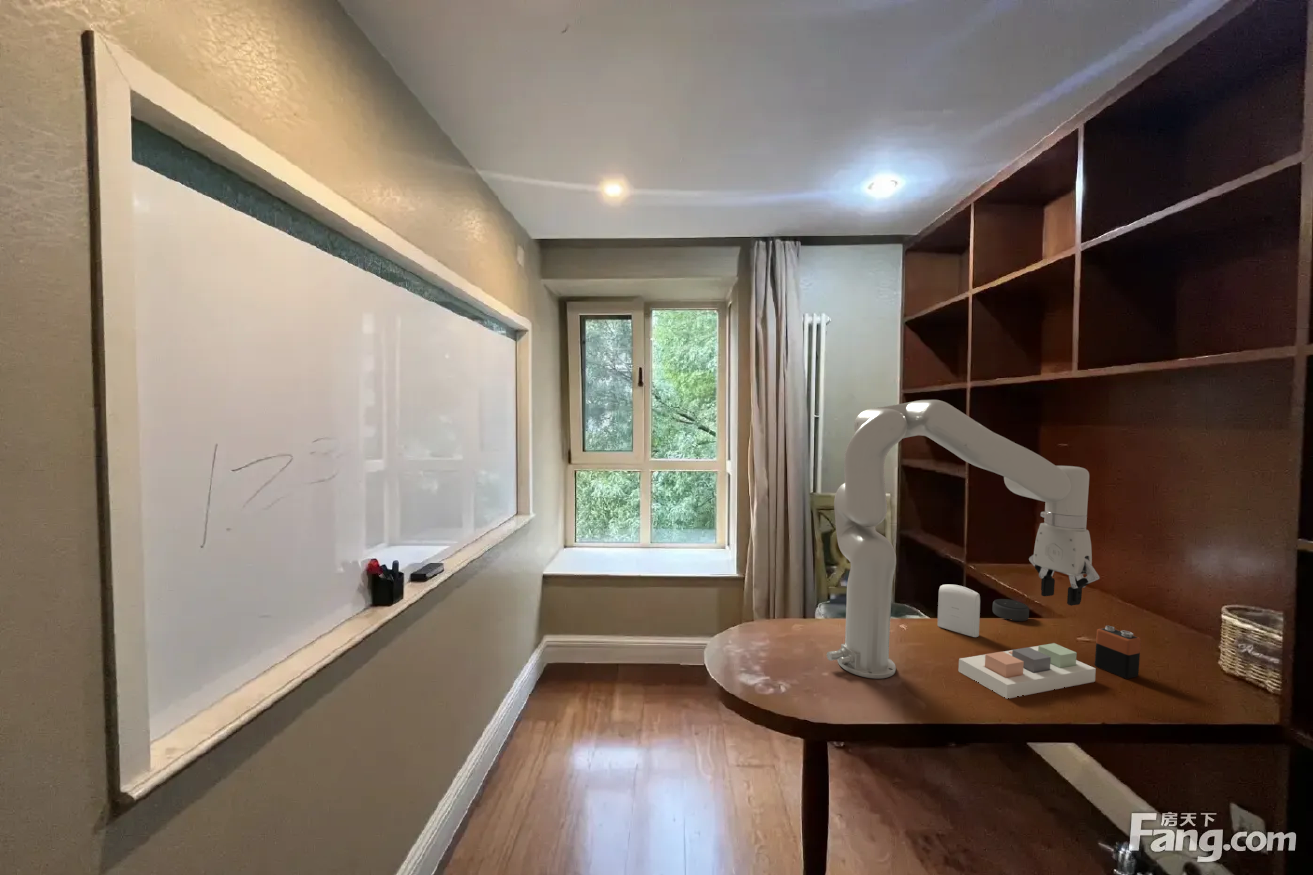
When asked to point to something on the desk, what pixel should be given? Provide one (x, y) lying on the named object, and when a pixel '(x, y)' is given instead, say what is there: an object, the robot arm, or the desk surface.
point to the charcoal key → (1032, 659)
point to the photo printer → (959, 609)
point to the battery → (1117, 652)
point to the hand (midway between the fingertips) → (1060, 599)
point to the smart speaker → (1010, 610)
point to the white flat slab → (1026, 677)
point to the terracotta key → (1004, 664)
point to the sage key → (1059, 655)
